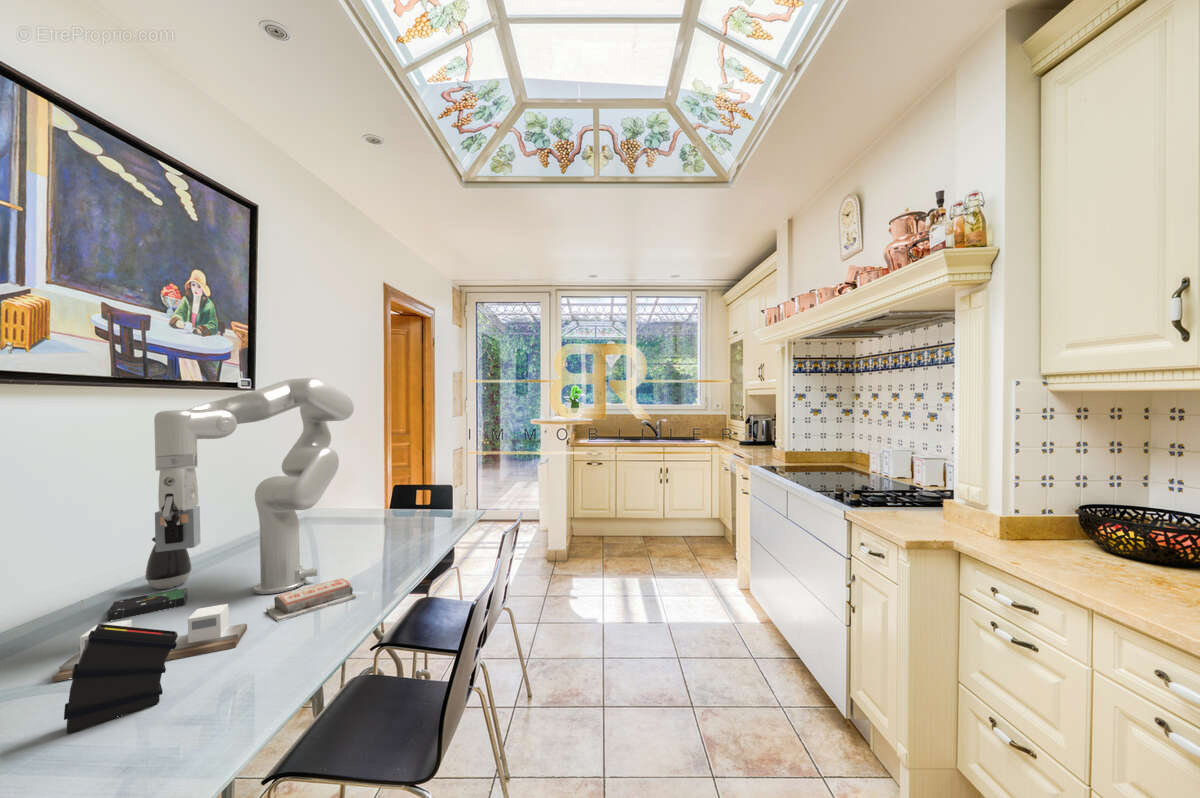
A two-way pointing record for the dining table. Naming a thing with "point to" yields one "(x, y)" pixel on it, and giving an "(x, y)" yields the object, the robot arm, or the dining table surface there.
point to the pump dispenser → (167, 568)
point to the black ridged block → (117, 674)
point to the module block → (189, 530)
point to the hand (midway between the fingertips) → (178, 539)
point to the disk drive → (147, 604)
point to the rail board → (176, 649)
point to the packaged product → (311, 599)
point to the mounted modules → (189, 625)
